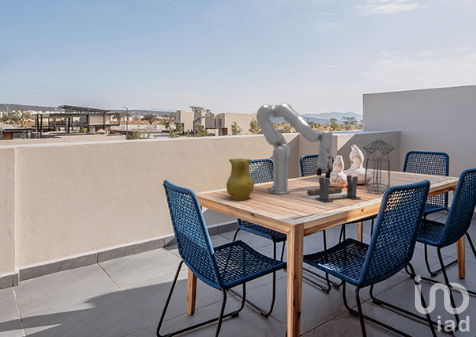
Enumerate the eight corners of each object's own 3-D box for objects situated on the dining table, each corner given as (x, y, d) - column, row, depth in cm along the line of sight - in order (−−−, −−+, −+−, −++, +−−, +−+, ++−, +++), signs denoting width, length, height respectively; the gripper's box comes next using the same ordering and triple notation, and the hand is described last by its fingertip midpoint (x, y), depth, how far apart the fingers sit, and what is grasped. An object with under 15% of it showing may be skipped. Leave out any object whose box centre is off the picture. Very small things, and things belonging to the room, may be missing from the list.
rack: (324, 202, 208) (325, 179, 206) (315, 199, 217) (315, 177, 216) (360, 198, 217) (361, 176, 216) (350, 195, 227) (350, 174, 225)
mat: (310, 198, 220) (310, 197, 220) (300, 195, 231) (300, 194, 231) (348, 194, 230) (348, 194, 230) (337, 191, 241) (337, 190, 241)
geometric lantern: (359, 191, 241) (361, 139, 237) (378, 189, 246) (380, 138, 242) (375, 195, 227) (377, 140, 222) (395, 193, 231) (397, 139, 227)
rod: (310, 196, 224) (310, 190, 224) (306, 194, 228) (307, 189, 227) (341, 193, 233) (342, 188, 232) (338, 191, 236) (338, 186, 235)
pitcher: (221, 199, 217) (222, 158, 215) (232, 195, 235) (233, 157, 233) (248, 202, 212) (249, 160, 210) (257, 197, 229) (259, 158, 227)
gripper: (338, 151, 220) (336, 179, 223) (322, 149, 236) (320, 174, 239) (328, 151, 217) (326, 179, 220) (312, 149, 233) (310, 174, 236)
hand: (323, 177), depth 229 cm, fingers open, 9 cm apart
